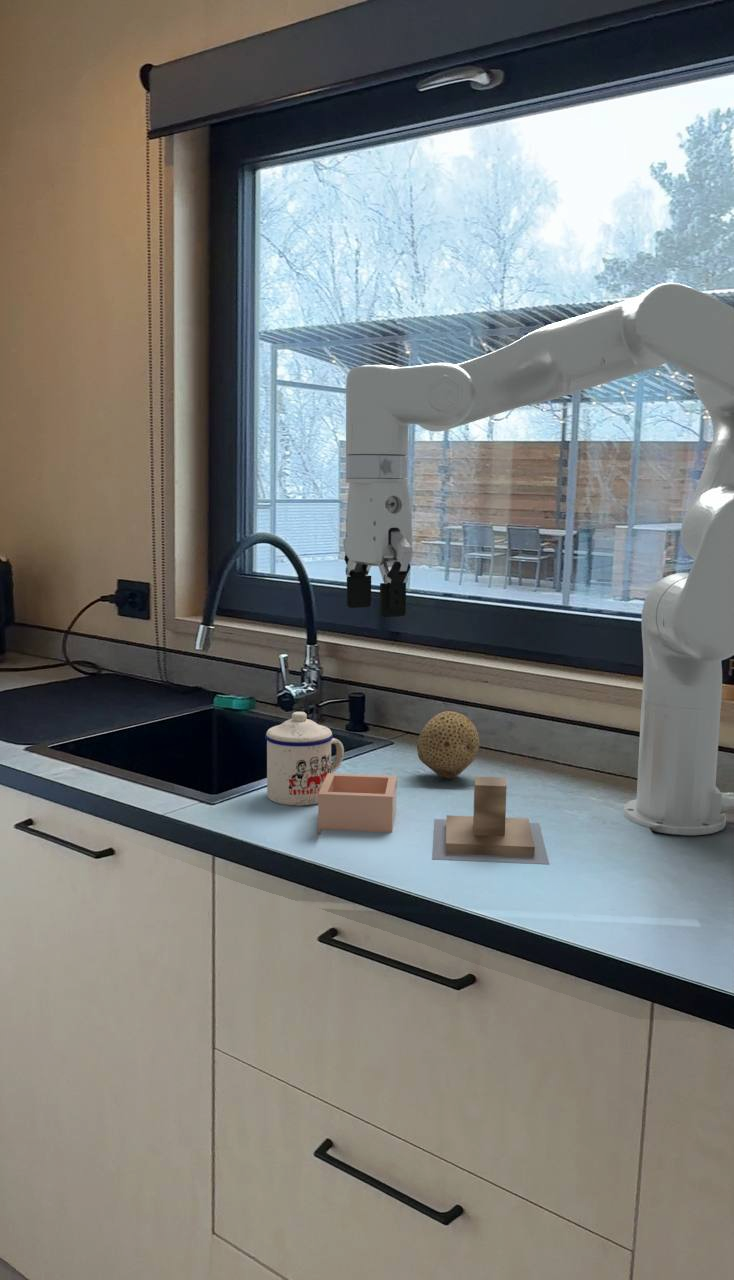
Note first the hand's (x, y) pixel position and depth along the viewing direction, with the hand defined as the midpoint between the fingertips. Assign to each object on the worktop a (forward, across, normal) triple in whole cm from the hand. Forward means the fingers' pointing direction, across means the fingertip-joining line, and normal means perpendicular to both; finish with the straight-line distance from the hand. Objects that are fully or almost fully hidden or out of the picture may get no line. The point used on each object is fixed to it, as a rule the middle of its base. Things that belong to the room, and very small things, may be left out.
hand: (375, 611), depth 126 cm
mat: (+27, -14, -8) cm, 31 cm away
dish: (+26, -1, +2) cm, 27 cm away
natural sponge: (+27, +12, -17) cm, 34 cm away
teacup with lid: (+27, +12, +4) cm, 30 cm away
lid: (+26, -14, -8) cm, 31 cm away
